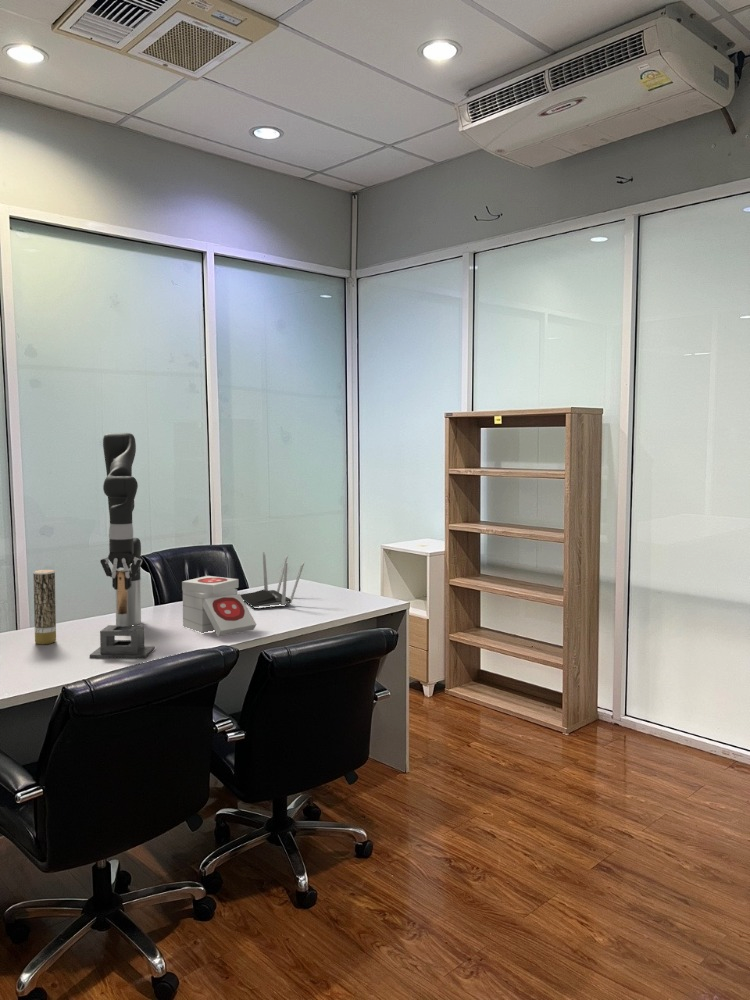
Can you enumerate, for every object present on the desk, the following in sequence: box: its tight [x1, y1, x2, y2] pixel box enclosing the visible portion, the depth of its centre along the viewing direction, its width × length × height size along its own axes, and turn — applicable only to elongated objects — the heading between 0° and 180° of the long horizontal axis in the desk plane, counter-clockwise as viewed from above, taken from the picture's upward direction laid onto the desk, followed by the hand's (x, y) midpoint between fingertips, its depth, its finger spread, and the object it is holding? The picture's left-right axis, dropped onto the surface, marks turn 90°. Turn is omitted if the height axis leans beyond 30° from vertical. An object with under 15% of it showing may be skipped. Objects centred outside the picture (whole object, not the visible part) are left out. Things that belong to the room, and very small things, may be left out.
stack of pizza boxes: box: [181, 575, 257, 637], centre depth 286 cm, size 19×30×18 cm, turn 42°
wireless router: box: [240, 552, 306, 608], centre depth 335 cm, size 34×23×20 cm
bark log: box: [32, 569, 57, 645], centre depth 265 cm, size 7×7×25 cm
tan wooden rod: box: [117, 570, 128, 614], centre depth 252 cm, size 3×3×14 cm
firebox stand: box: [89, 624, 156, 660], centre depth 253 cm, size 11×18×8 cm, turn 90°
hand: (122, 588), depth 252 cm, fingers closed on tan wooden rod, 3 cm apart
